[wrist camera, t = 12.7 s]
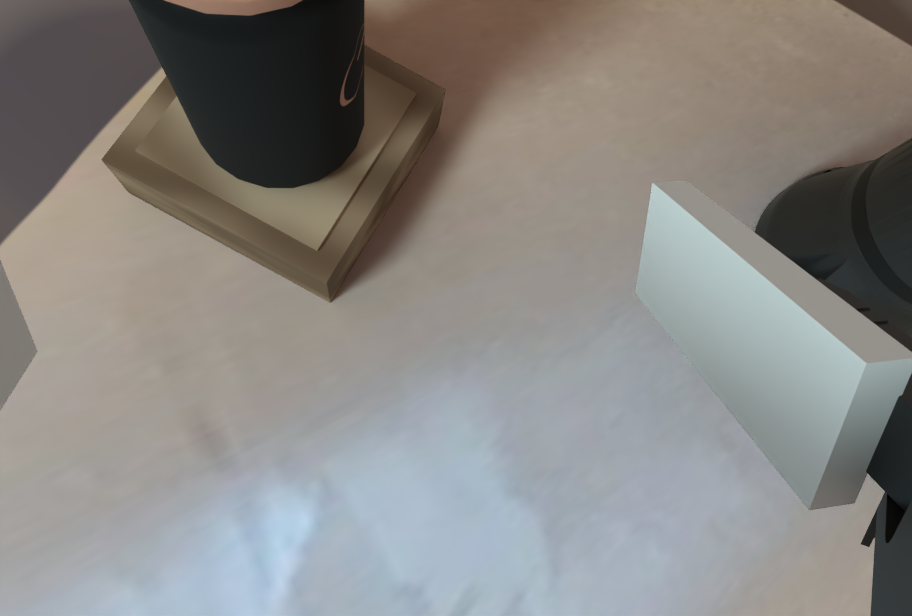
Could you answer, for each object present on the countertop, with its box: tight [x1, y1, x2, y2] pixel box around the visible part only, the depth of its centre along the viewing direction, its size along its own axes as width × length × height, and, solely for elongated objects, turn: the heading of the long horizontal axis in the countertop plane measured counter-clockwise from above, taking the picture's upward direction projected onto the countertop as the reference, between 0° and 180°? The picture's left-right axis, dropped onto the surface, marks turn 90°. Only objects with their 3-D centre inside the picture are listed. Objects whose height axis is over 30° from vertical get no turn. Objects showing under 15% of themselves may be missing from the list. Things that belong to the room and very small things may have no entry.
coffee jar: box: [129, 0, 364, 188], centre depth 35 cm, size 11×11×18 cm
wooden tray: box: [102, 45, 445, 302], centre depth 46 cm, size 16×16×5 cm
